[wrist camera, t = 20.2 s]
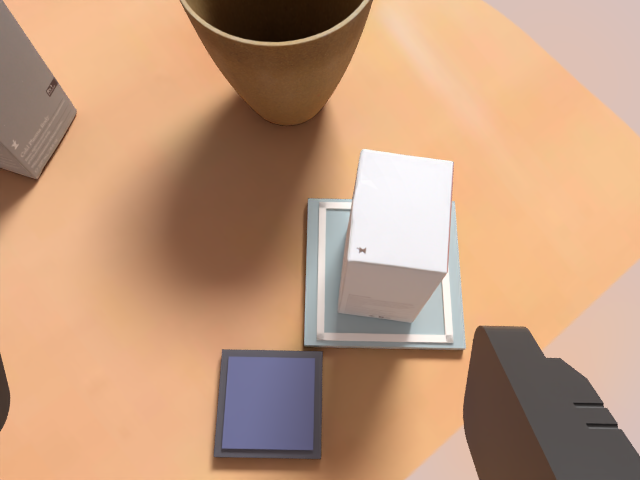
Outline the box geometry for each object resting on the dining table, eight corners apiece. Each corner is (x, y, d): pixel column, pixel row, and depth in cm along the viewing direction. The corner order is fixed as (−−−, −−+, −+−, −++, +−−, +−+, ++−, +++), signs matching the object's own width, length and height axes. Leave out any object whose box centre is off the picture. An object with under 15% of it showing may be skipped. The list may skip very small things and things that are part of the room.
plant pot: (287, 9, 59) (279, -144, 44) (393, 95, 55) (423, -40, 40) (176, 93, 55) (126, -43, 40) (282, 191, 51) (271, 82, 36)
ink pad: (215, 456, 43) (213, 456, 42) (223, 351, 46) (221, 348, 45) (320, 458, 43) (321, 458, 42) (322, 353, 46) (322, 350, 45)
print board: (304, 346, 46) (303, 344, 45) (308, 202, 51) (307, 197, 50) (463, 350, 46) (466, 347, 45) (452, 205, 51) (455, 200, 50)
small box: (413, 324, 46) (449, 276, 34) (335, 314, 47) (344, 262, 34) (420, 233, 49) (455, 158, 37) (347, 223, 49) (358, 146, 37)
